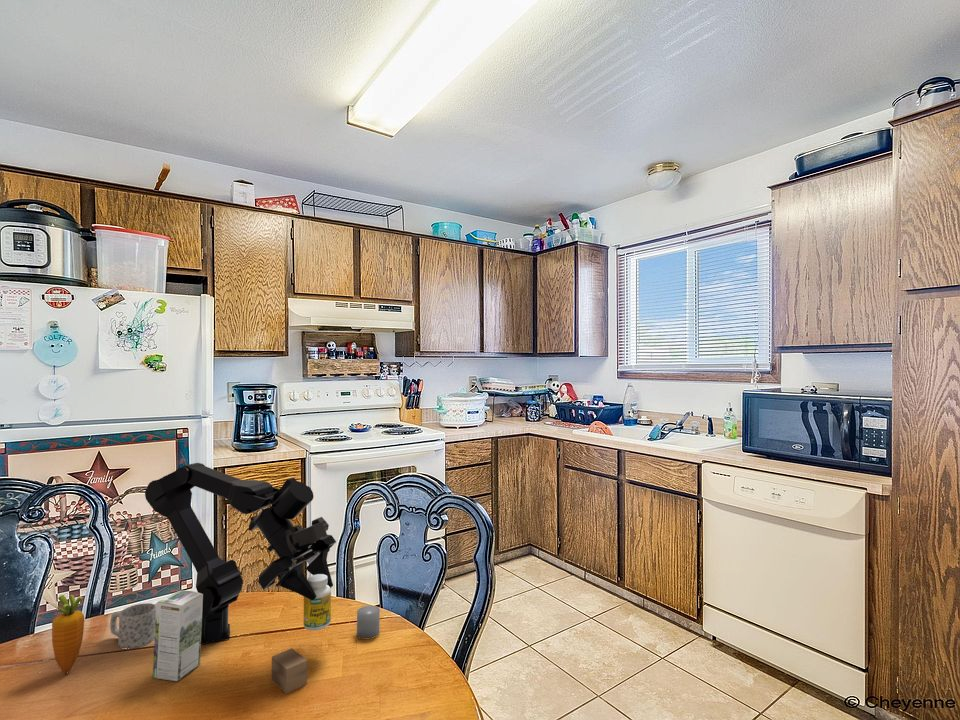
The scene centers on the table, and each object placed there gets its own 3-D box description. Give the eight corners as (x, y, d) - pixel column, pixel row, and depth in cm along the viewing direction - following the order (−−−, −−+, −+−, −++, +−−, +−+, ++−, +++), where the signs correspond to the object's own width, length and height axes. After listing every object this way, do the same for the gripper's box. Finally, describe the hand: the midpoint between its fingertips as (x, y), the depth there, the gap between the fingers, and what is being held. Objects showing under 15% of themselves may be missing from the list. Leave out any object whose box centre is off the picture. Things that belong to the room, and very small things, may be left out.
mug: (162, 634, 110) (163, 604, 110) (137, 650, 104) (138, 618, 104) (124, 630, 112) (125, 600, 112) (96, 646, 105) (97, 614, 106)
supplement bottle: (326, 616, 106) (327, 570, 106) (334, 626, 101) (334, 579, 102) (300, 622, 103) (301, 576, 103) (307, 634, 98) (307, 585, 99)
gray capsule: (354, 630, 113) (354, 608, 113) (375, 625, 115) (376, 603, 115) (359, 641, 108) (360, 618, 108) (382, 635, 111) (382, 613, 111)
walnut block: (271, 680, 94) (271, 656, 94) (291, 671, 97) (291, 648, 97) (286, 694, 90) (286, 669, 90) (306, 684, 93) (307, 660, 93)
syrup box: (176, 661, 100) (178, 588, 100) (201, 665, 99) (203, 591, 99) (152, 678, 94) (154, 601, 95) (178, 682, 93) (180, 604, 94)
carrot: (89, 668, 97) (91, 591, 98) (60, 683, 92) (63, 601, 93) (72, 663, 99) (74, 587, 99) (43, 677, 94) (46, 597, 95)
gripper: (272, 520, 95) (320, 587, 91) (330, 498, 113) (371, 553, 109) (238, 556, 97) (283, 623, 93) (299, 529, 115) (339, 584, 111)
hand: (323, 592), depth 102 cm, fingers closed on supplement bottle, 5 cm apart
